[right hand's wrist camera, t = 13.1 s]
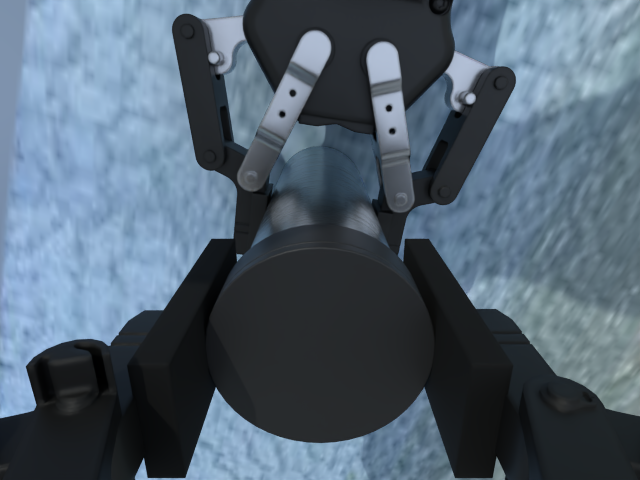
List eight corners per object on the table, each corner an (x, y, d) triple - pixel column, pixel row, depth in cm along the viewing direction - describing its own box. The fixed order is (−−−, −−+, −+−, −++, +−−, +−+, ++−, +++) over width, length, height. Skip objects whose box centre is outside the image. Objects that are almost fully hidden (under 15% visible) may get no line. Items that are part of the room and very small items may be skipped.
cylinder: (367, 151, 25) (438, 264, 10) (354, 230, 27) (399, 430, 12) (282, 141, 25) (224, 240, 10) (275, 221, 27) (216, 413, 12)
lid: (439, 236, 11) (459, 261, 10) (400, 408, 13) (411, 452, 11) (223, 211, 11) (207, 233, 9) (215, 390, 13) (201, 433, 11)
